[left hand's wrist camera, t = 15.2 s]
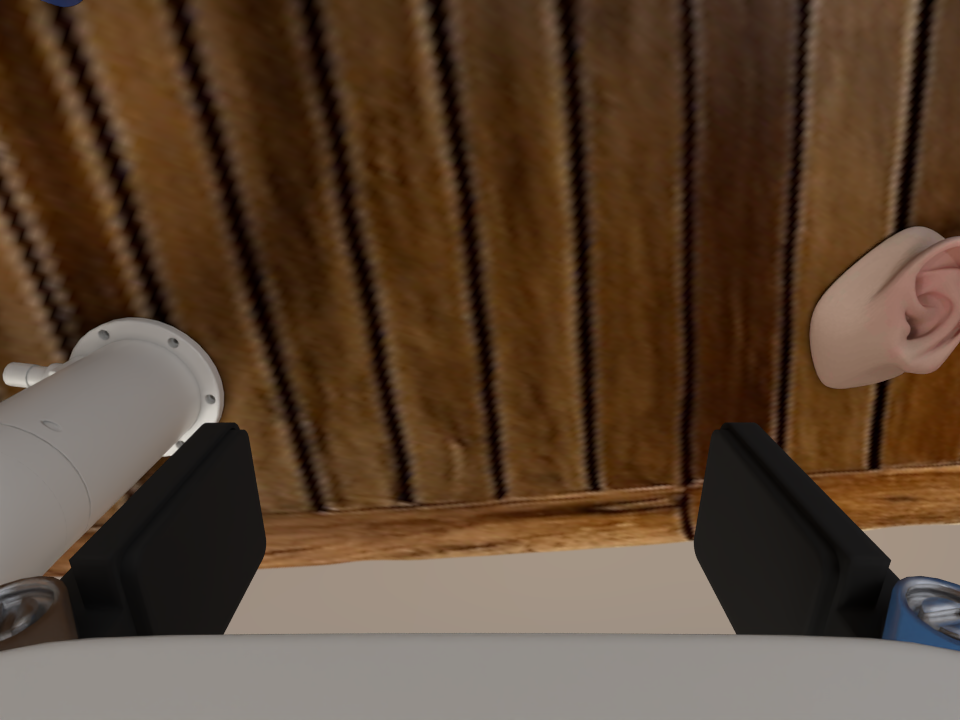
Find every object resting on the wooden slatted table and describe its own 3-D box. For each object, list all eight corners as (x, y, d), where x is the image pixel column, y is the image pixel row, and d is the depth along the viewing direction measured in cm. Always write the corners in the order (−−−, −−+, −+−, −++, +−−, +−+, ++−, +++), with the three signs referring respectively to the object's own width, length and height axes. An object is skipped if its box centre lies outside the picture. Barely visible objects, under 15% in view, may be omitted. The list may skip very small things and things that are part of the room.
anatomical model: (866, 431, 45) (803, 322, 42) (836, 409, 49) (777, 307, 46) (1032, 337, 42) (980, 212, 39) (988, 321, 46) (936, 206, 43)
